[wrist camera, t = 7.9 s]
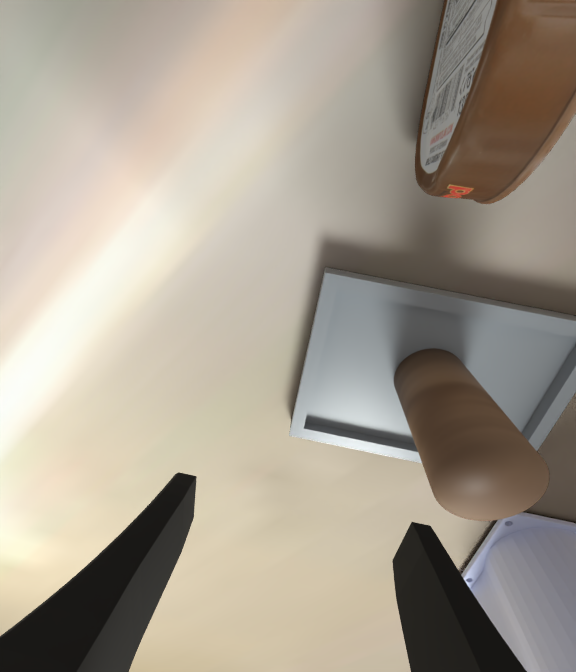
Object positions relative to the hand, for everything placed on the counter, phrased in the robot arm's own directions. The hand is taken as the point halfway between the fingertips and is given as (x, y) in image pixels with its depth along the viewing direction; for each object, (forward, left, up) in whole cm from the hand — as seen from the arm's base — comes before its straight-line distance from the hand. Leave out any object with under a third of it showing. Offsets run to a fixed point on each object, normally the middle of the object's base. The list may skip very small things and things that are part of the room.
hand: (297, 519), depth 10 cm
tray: (+1, -7, -10) cm, 13 cm away
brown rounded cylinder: (+1, -7, -10) cm, 12 cm away
